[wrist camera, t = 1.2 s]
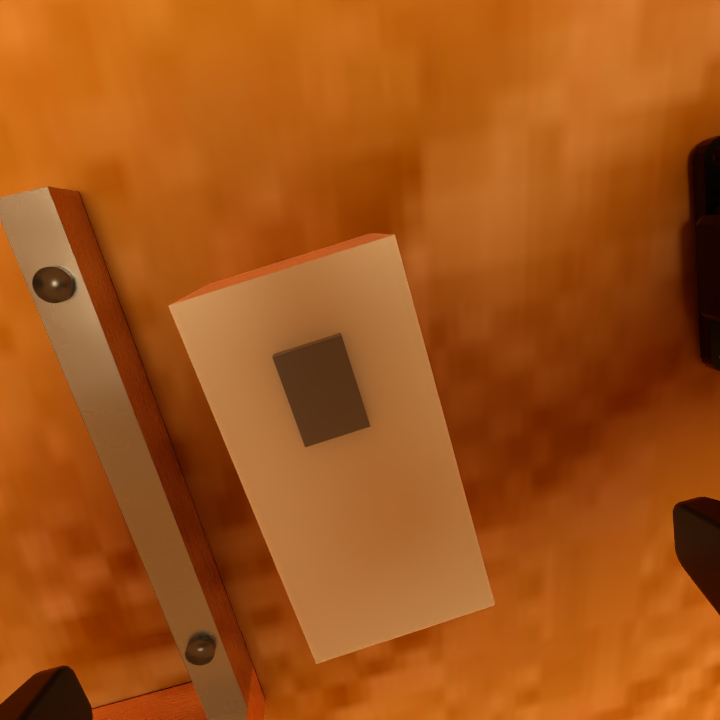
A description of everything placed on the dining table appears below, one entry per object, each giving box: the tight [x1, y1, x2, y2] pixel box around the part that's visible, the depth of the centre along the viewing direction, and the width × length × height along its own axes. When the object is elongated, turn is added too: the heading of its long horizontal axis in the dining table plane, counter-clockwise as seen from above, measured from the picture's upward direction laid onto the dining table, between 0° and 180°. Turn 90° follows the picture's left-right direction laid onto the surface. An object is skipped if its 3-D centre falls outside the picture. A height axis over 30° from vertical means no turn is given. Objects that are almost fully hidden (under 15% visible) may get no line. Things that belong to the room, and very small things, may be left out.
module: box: [168, 233, 495, 664], centre depth 12 cm, size 4×9×4 cm, turn 17°
